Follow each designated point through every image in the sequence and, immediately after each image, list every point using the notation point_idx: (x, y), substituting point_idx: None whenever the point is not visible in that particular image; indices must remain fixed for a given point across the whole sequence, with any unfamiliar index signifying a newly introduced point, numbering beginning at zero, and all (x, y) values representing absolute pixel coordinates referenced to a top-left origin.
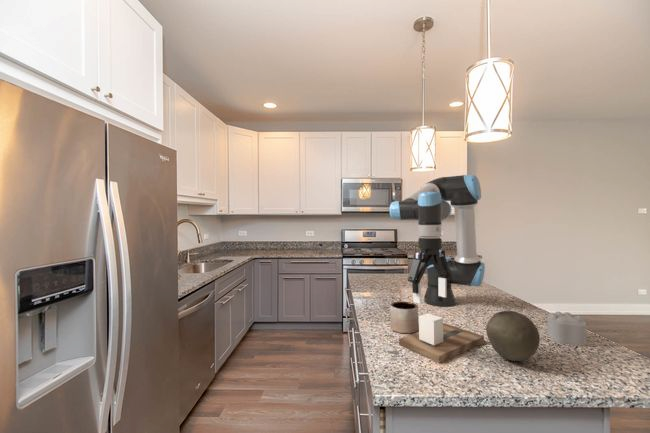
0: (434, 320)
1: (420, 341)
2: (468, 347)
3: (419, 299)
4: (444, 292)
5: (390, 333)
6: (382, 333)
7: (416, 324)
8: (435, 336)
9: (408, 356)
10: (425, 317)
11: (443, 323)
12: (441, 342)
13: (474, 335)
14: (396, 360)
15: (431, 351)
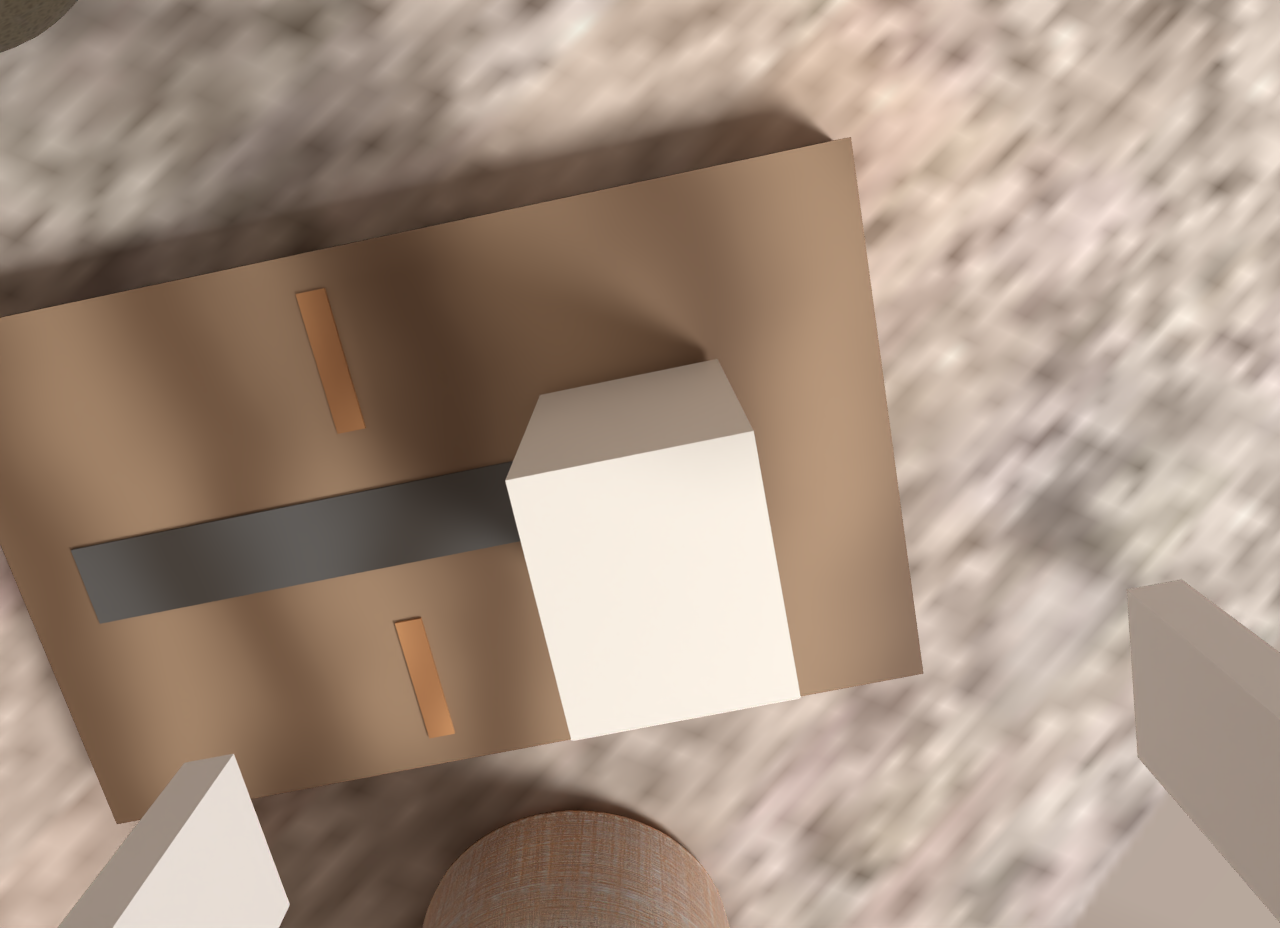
0: (721, 449)
1: None
2: (278, 258)
3: (1243, 637)
4: (188, 847)
5: (791, 892)
6: (866, 920)
7: (510, 871)
8: (695, 385)
9: (1002, 397)
10: (749, 613)
11: (129, 817)
12: None
13: (16, 401)
14: (1171, 376)
15: (836, 269)
